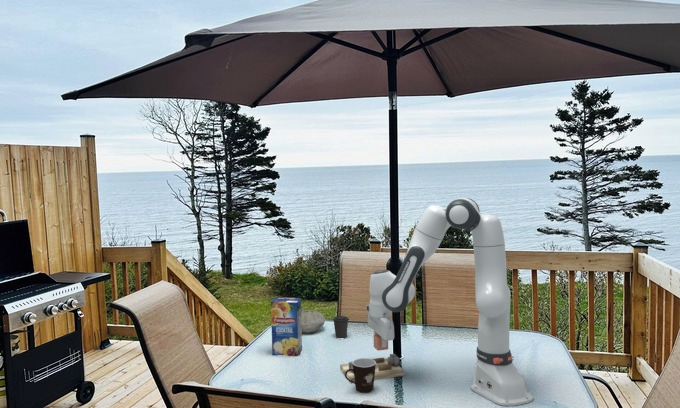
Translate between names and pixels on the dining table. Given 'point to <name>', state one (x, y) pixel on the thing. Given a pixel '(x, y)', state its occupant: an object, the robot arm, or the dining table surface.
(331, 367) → the dining table surface
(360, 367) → the coffee mug
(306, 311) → the grey rock
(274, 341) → the juice carton
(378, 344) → the reddish orange block
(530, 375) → the dining table surface
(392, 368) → the shaft bench
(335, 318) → the coffee cup
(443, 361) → the dining table surface
